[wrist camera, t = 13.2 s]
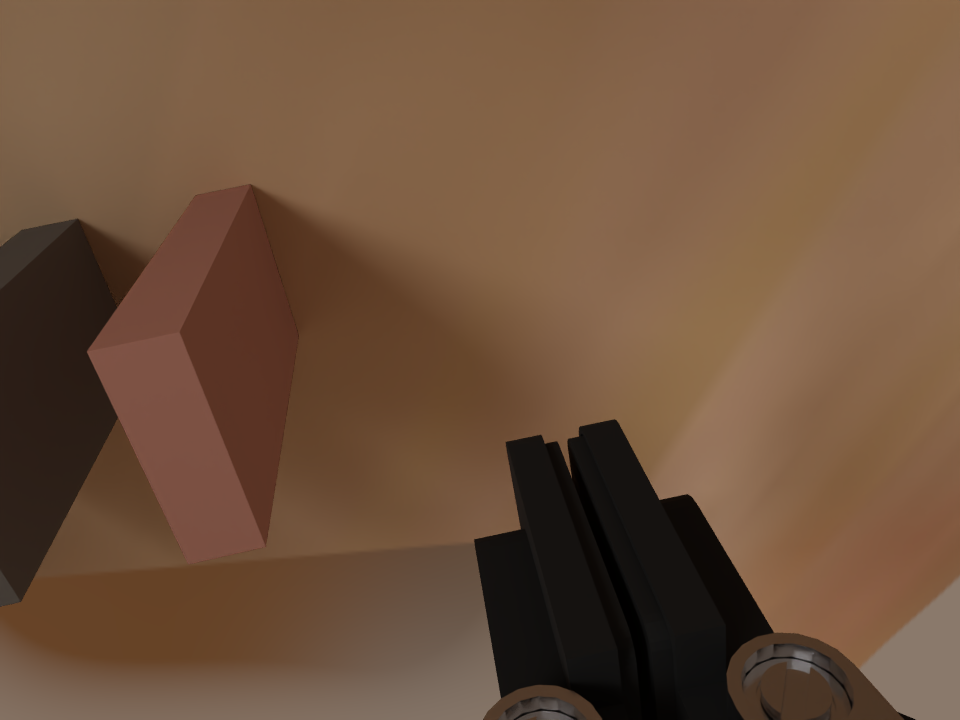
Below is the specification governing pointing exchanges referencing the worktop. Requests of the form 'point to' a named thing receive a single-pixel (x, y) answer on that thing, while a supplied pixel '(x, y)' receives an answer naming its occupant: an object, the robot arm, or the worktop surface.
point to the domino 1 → (47, 390)
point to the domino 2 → (206, 374)
